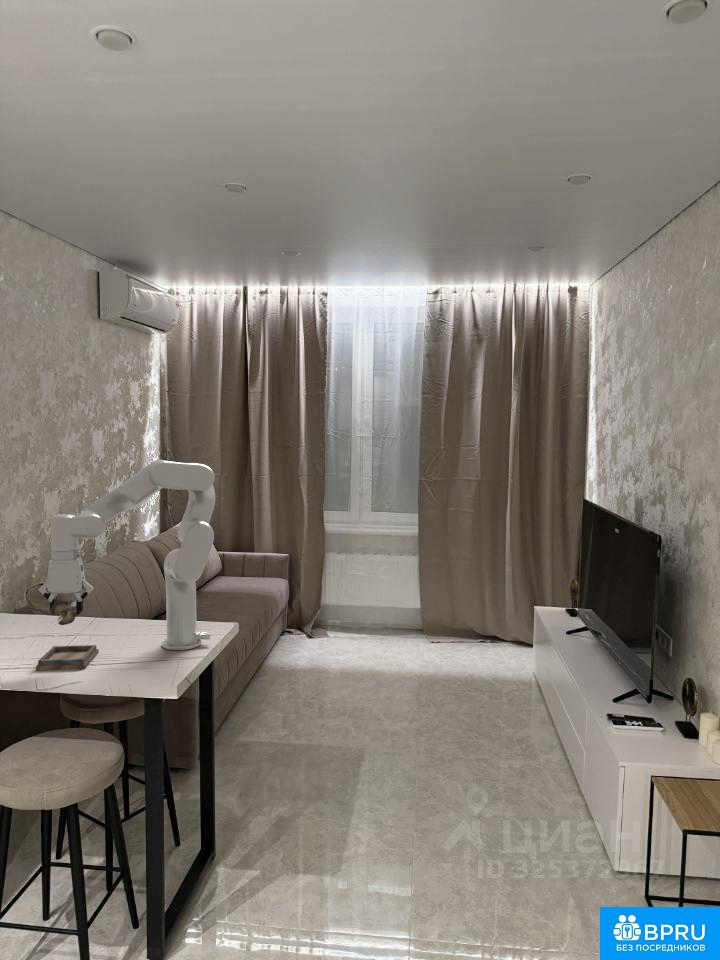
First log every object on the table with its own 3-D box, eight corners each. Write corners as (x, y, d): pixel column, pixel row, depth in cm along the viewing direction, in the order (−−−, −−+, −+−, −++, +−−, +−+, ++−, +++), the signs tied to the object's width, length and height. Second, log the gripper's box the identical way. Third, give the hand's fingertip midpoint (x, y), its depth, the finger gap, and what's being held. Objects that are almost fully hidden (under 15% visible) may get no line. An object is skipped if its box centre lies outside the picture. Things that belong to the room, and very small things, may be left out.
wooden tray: (98, 652, 226) (98, 644, 226) (85, 668, 212) (84, 660, 211) (52, 654, 225) (52, 645, 225) (36, 670, 210) (35, 661, 210)
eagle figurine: (49, 614, 218) (43, 616, 209) (63, 593, 219) (58, 595, 211) (71, 627, 219) (67, 629, 210) (85, 606, 221) (81, 608, 212)
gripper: (98, 553, 220) (99, 610, 222) (39, 553, 219) (41, 611, 220) (91, 557, 213) (92, 616, 214) (30, 558, 211) (32, 617, 213)
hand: (66, 613), depth 217 cm, fingers closed on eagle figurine, 6 cm apart
